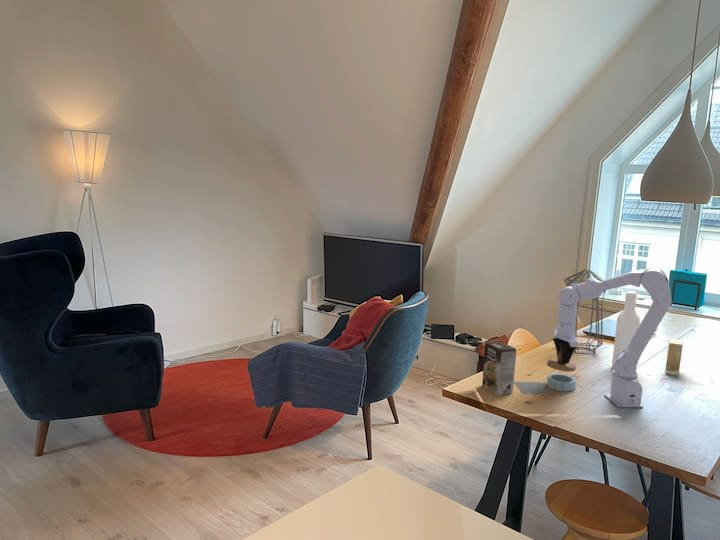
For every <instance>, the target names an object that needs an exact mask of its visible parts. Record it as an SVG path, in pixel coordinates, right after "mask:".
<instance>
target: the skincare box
mask: <svg viewBox="0 0 720 540" xmlns="http://www.w3.org/2000/svg"><path fill="white" fill-rule="evenodd" d="M683 343H684V342H683V340H681V339H675V338H674V339H673V338H669V339H668V345H667V346H668V347H667V357H666V363H665V369H664V370H665V375H671V376H677V377H678V376H679V375H680V368H681V360H682V354H683V353H682V352H683Z"/></svg>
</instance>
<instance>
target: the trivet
mask: <svg viewBox="0 0 720 540" xmlns="http://www.w3.org/2000/svg"><path fill="white" fill-rule="evenodd" d="M513 385H515V386H516V388H518V390H519V392H521V394H530V395H531V394H535V395H536V394H539V395H541V394H542V395H543V394H545V395H552V394H553V392H552V391H551V390H550V389H549V387H548V386H547V385H545V384H544V383H543V382H542V381H541V382H540V381H514V384H513Z"/></svg>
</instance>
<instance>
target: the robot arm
mask: <svg viewBox="0 0 720 540" xmlns="http://www.w3.org/2000/svg"><path fill="white" fill-rule="evenodd" d="M591 279H592V277H591V278H590V277H589V279H587V280H586V279H585V281H586V282H581V283H580V282H579V283H578V284H577V283H575V284H573V283H571V285H572V287H571V286H570V285H569V286H565V287H564V288H562V289H561V290H560V292H559V293H558V298H557V299H558V301H559V303H558V306H559V307H558V309H557V310H558V311H557V324H556V328H555V329H553V334H552V337H553V338H552V342H553V343H554V346H555V350H556V357H557V358H556V359H558V353H559V351H561V360H562V363H569V362H571V358H572V357H573V356H572V355H573V353H575V352H574V351H575V349H576V348H577V347H578V345H577V343H579V342H578V341H577V337H575V327H576V315H577V316H578V313H577V309H576V308H577V303H578V302H579V301H580V302H583V301H587V300H590V299H591V298H595V297H596V298H597V297H599V298H600V297H601V296H603V294H604V292H603V291H605V290H606V291H609V290H613V289H617V288H622V287H625V286H633V287H637V288H640V287H641V286H642V288H644V290H646V291H647V293H648V294H649V296H650V298H651V300H652V303H651V305H650V307H649V308H648V310H647V311H646V313H645V315H644V317H643V318H642V320H641V321H640V325H639V327H638V328H637V330H636V332H635V334H634V335H633V337H632V339H631V340H630V342H629V344H628V345H627V346H626V348H625V349H624V350H623V351H622V352H620V353H619V354H618V355H617V358H616V362H615V363H614V369H612V374H611V375H612V376H611V383H610V393H604V396H605V397H606V398H607V399H608V400H609V401H611V402H612V403H613V404H614V405H615V406H617V407H618V408H644V405H643V404H642V395H643V386H642V384H641V383H640V382H639V379H638V376H639V374H638V372H637V366H638V364H639V361H640V358H641V356H642V354H643V352H644V350H645V349H646V347H647V346H648V344H649V342H650V341H651V339H652V337H653V336H654V334H655V332H656V331H657V329H658V327H659V325H660V324H661V322H662V321H663V319H664V318H665V316H666V314H667V313H668V311H669V308H671V305H672V301H673V300H672V294H671V287H670V282H669V278H668V277H667V275H666V272H665V271H664V270H663V269H661V268H660V267H656V266H651V267H648V268H647V269H645V268H642V269H638V270H633V271H629V272H626V273H623V274H619V275H617V276H613V277H610V278H607V279H603V280H604V281H603V280H602V281H599V280H596V278H594V279H593V280H591ZM591 300H592V299H591ZM576 350H577V349H576Z"/></svg>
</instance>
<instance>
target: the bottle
mask: <svg viewBox="0 0 720 540" xmlns="http://www.w3.org/2000/svg"><path fill="white" fill-rule="evenodd" d="M637 298H638V294H637V292H635V291H629V290H628V291H626V292H625V300H624V308H623V310H622V311H620V312H618V313H619V314H618V316H617V318H616V325H615V335H614V345H613V355H612V360H611V368H612V370H614V363H615V362H616V358H617V355H618V354H619V353H620V352H622V351H623V350H624V349H625V348H626V346H627V345H628V344H629V342H630V340H631V339H632V337H633V335H634V334H635V332H636V330H637V328H638V327H639V325H640V323H641V317H640V315H639V313H637V311H636V307H637V306H636V304H637Z"/></svg>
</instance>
